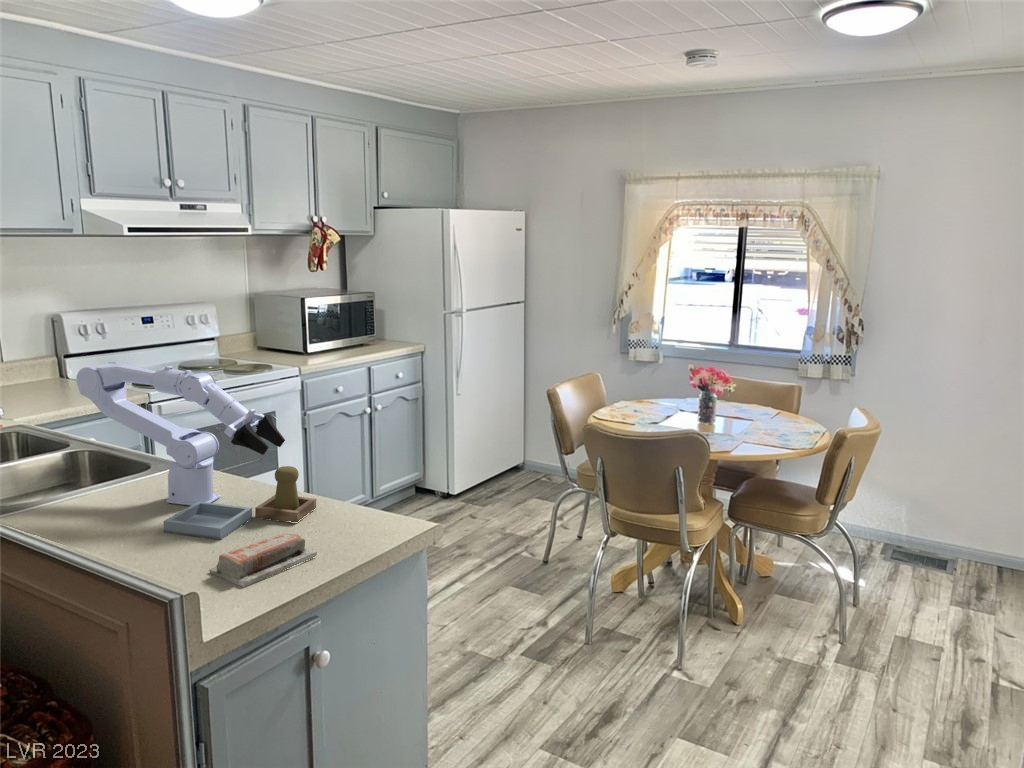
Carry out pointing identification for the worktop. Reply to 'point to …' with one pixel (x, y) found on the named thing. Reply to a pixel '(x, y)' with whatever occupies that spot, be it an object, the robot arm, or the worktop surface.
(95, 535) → the worktop surface
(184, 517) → the parts tray
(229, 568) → the packaged product
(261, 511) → the frame
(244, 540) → the worktop surface
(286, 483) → the cork
